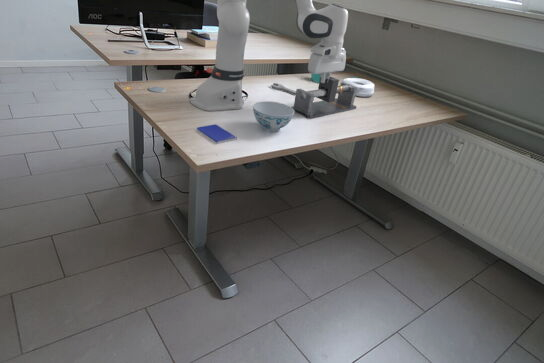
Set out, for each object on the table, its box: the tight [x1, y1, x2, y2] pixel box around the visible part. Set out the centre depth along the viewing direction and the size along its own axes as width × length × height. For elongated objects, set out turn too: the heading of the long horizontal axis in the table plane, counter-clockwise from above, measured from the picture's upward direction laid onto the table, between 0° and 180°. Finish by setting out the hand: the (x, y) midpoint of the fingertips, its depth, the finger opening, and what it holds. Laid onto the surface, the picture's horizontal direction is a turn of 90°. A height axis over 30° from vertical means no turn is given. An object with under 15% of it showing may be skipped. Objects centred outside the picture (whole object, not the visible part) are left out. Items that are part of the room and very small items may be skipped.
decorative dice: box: [310, 73, 321, 84], centre depth 208 cm, size 8×8×8 cm
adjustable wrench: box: [270, 82, 315, 102], centre depth 182 cm, size 25×6×2 cm, turn 46°
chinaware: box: [252, 100, 295, 133], centre depth 138 cm, size 15×15×8 cm
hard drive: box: [196, 123, 238, 145], centre depth 128 cm, size 2×8×12 cm
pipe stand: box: [290, 81, 357, 120], centre depth 166 cm, size 32×12×10 cm, turn 133°
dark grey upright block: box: [315, 75, 340, 103], centre depth 163 cm, size 4×7×10 cm, turn 43°
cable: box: [341, 77, 375, 98], centre depth 198 cm, size 18×18×6 cm
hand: (324, 82), depth 159 cm, fingers closed
